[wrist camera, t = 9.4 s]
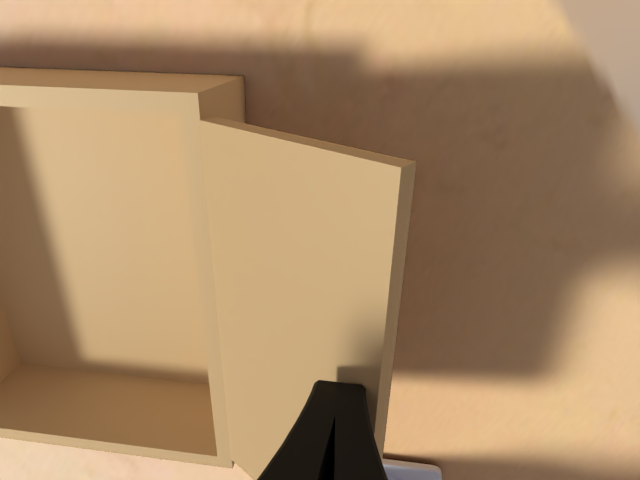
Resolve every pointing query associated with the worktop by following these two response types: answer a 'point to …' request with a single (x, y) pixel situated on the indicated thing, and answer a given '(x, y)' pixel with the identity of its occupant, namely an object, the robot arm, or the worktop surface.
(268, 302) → the flap
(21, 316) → the carton
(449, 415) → the worktop surface
